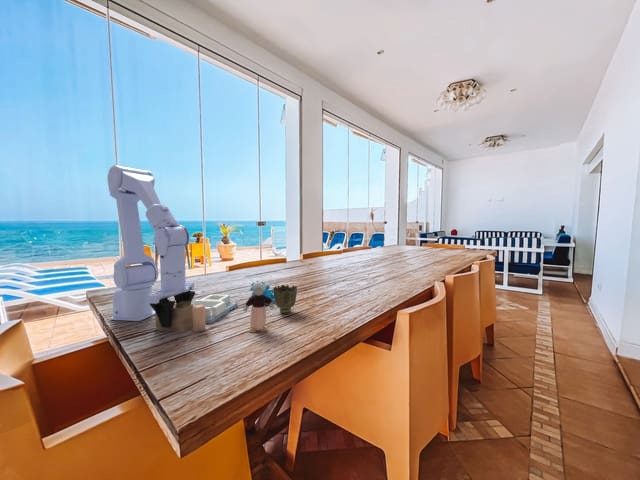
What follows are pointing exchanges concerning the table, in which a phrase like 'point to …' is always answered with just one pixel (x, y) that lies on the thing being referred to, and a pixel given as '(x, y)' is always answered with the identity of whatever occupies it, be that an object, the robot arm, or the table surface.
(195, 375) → the table surface
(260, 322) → the grandmother figurine
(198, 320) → the tail peg
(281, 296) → the cup
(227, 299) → the jig
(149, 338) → the table surface
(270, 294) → the blue white lumpy piece
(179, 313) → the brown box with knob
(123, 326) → the table surface
